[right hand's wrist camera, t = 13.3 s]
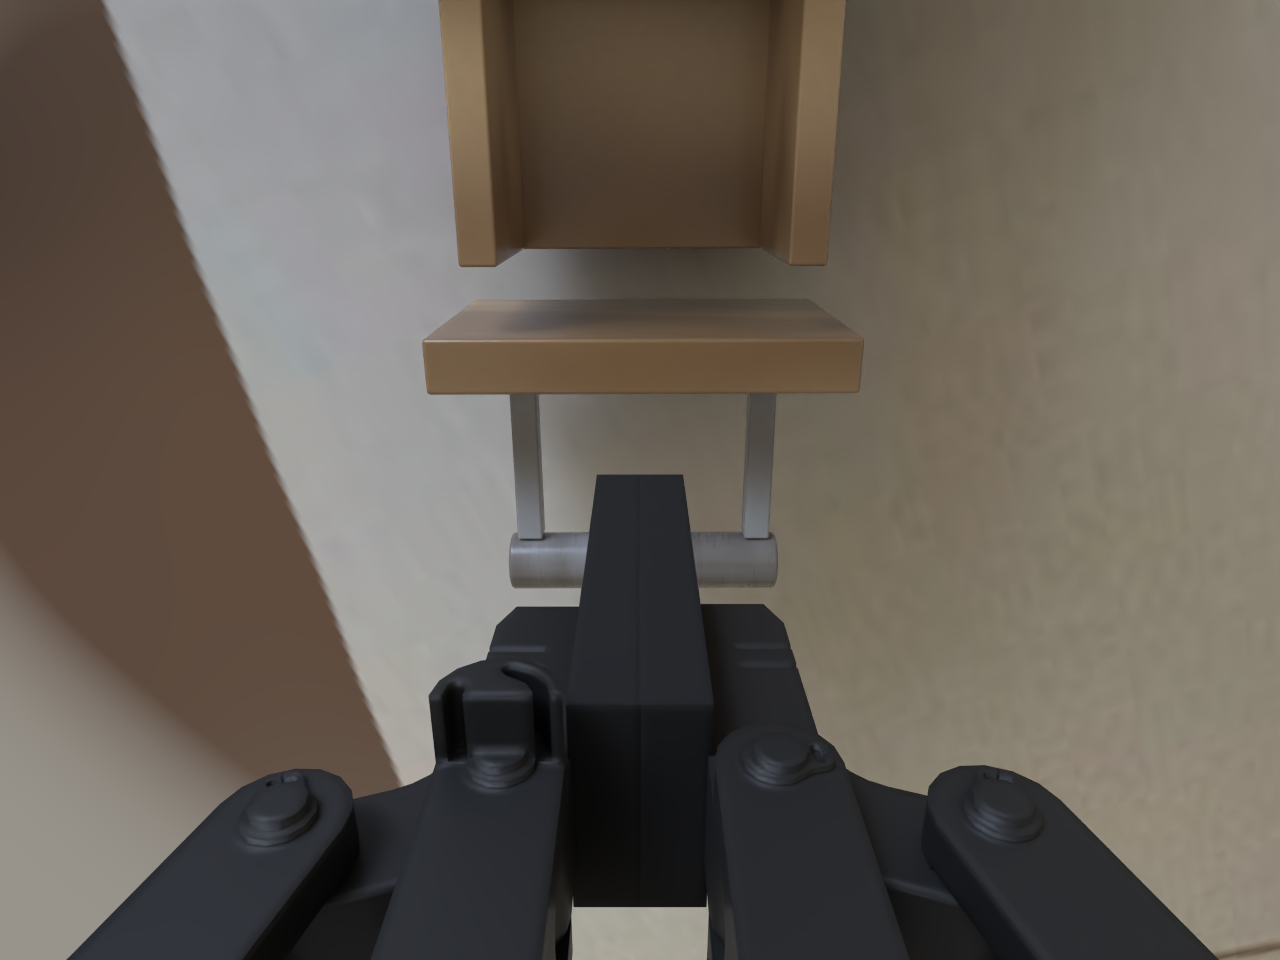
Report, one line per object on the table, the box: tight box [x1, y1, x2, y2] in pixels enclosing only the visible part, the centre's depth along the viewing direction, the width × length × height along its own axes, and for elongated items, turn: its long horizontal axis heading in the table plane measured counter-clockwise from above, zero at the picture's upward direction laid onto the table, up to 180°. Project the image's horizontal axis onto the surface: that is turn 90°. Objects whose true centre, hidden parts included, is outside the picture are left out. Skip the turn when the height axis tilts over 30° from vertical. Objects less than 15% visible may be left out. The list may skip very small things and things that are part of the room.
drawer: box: [422, 0, 864, 588], centre depth 18 cm, size 23×9×6 cm, turn 0°
